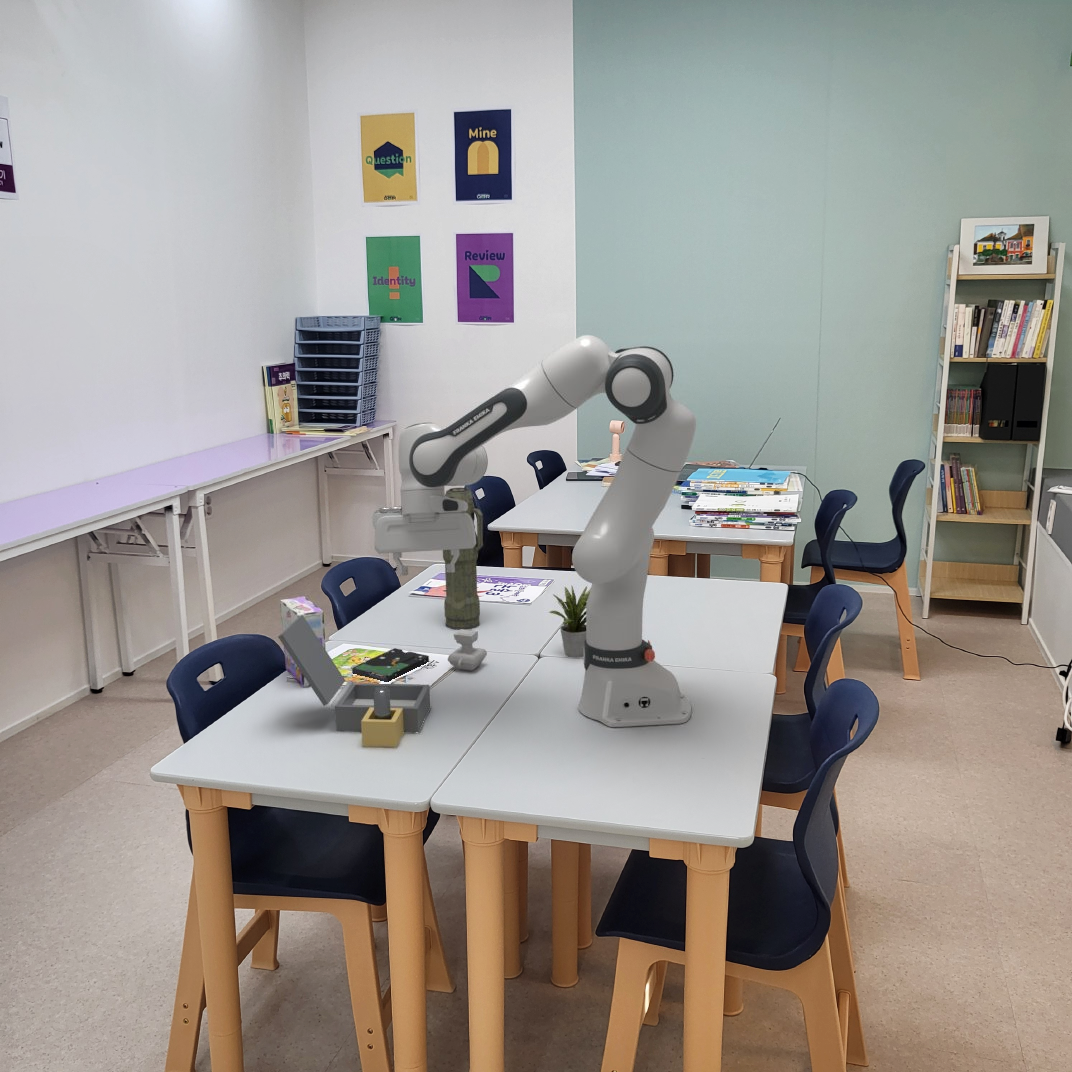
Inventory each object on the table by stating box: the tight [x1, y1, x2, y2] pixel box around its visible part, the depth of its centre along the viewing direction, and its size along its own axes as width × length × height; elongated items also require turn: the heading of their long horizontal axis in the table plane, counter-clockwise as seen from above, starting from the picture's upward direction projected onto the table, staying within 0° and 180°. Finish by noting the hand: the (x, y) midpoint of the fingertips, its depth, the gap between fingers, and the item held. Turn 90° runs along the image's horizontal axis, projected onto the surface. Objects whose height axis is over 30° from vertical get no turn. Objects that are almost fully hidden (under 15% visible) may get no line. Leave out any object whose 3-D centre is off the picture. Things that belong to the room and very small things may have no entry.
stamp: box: [447, 629, 488, 672], centre depth 222 cm, size 9×7×8 cm
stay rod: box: [373, 687, 391, 720], centre depth 185 cm, size 3×3×10 cm
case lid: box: [277, 615, 346, 707], centre depth 194 cm, size 16×12×1 cm
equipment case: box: [330, 679, 431, 733], centre depth 195 cm, size 17×12×6 cm
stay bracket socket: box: [361, 707, 405, 748], centre depth 186 cm, size 6×6×5 cm
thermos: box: [442, 487, 484, 631], centre depth 248 cm, size 9×12×35 cm
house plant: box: [548, 585, 591, 658], centre depth 227 cm, size 14×14×16 cm
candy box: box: [279, 596, 326, 688], centre depth 217 cm, size 14×6×16 cm, turn 30°
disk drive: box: [351, 647, 430, 682], centre depth 221 cm, size 10×3×15 cm
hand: (427, 574), depth 199 cm, fingers open, 8 cm apart
